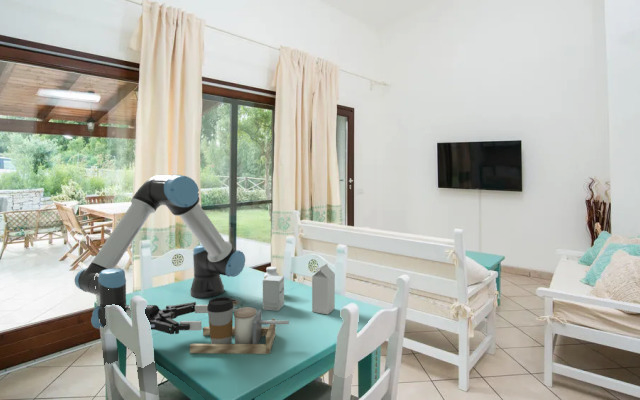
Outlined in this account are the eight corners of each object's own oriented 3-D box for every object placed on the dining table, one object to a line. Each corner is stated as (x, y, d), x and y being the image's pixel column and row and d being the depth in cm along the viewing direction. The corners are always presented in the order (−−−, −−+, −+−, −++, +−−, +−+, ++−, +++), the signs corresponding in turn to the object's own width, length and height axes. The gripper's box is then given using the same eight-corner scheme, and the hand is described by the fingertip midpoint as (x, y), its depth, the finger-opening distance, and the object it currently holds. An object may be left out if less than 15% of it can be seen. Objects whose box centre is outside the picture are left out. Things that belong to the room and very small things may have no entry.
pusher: (252, 350, 111) (252, 322, 111) (258, 335, 122) (258, 310, 121) (287, 350, 111) (287, 323, 111) (290, 335, 122) (290, 310, 121)
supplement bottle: (267, 298, 159) (266, 270, 158) (262, 293, 165) (262, 267, 164) (280, 295, 162) (280, 268, 161) (275, 291, 168) (275, 265, 167)
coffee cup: (210, 339, 119) (209, 297, 118) (235, 338, 120) (234, 295, 119) (206, 352, 111) (204, 306, 110) (233, 350, 112) (232, 304, 111)
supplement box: (279, 311, 144) (279, 281, 143) (262, 309, 145) (262, 280, 144) (284, 304, 151) (284, 275, 150) (268, 303, 153) (268, 274, 152)
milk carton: (334, 308, 146) (335, 264, 145) (327, 315, 140) (328, 268, 139) (319, 306, 149) (319, 262, 148) (312, 312, 143) (312, 266, 142)
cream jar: (229, 345, 115) (229, 313, 114) (243, 336, 122) (242, 305, 121) (248, 350, 112) (247, 317, 111) (261, 340, 119) (260, 309, 118)
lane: (189, 353, 110) (189, 336, 110) (204, 333, 124) (203, 318, 123) (269, 353, 110) (269, 336, 110) (275, 334, 123) (275, 318, 123)
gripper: (160, 312, 128) (218, 312, 129) (123, 346, 104) (195, 346, 104) (159, 292, 128) (218, 292, 128) (122, 321, 103) (194, 321, 103)
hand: (207, 316), depth 116 cm, fingers open, 13 cm apart
